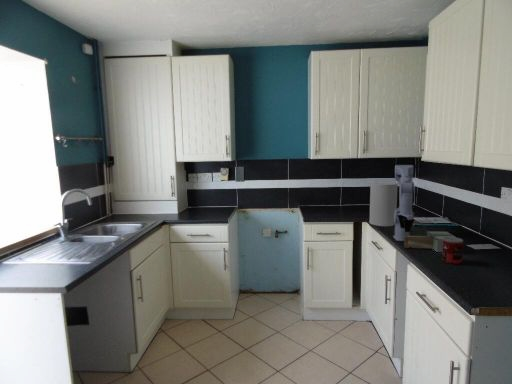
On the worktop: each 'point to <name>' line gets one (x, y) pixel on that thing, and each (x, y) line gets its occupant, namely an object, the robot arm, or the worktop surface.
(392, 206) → the cylinder
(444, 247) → the canned food
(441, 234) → the grey block
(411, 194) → the robot arm
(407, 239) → the brown-tipped cream rod
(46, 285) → the worktop surface
